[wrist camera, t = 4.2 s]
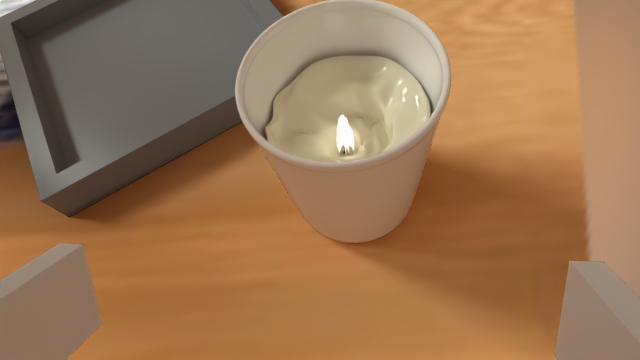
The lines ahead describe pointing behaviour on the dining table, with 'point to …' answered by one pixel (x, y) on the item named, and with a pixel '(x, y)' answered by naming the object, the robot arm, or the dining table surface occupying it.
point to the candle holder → (346, 111)
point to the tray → (122, 85)
